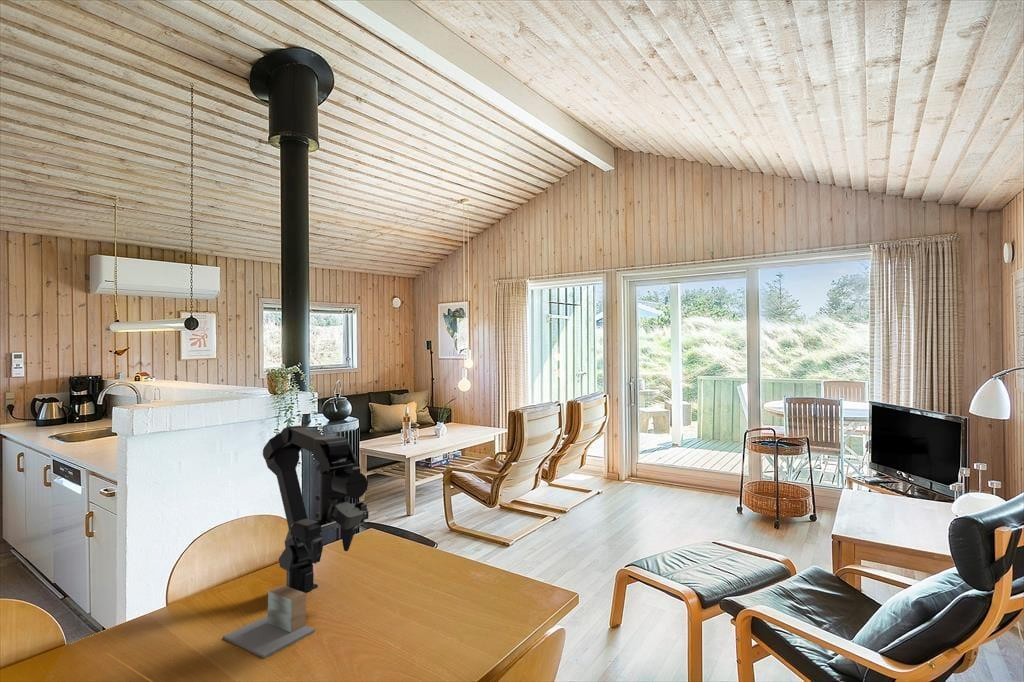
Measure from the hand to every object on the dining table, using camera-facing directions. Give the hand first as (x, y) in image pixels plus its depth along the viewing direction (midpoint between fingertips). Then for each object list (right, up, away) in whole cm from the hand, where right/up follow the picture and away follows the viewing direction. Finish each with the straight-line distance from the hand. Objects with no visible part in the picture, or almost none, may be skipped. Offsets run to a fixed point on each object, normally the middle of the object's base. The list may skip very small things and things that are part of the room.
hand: (330, 556), depth 127 cm
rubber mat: (-8, -11, -14) cm, 20 cm away
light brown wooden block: (-6, -11, -10) cm, 16 cm away
